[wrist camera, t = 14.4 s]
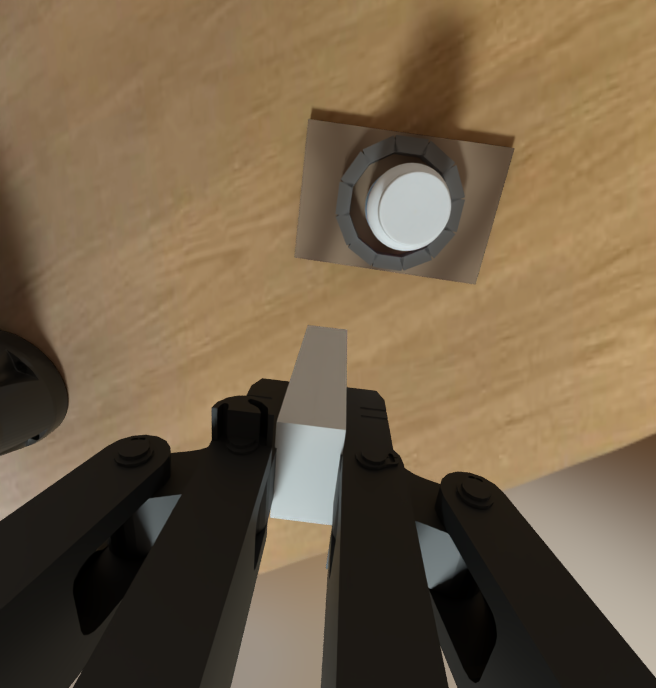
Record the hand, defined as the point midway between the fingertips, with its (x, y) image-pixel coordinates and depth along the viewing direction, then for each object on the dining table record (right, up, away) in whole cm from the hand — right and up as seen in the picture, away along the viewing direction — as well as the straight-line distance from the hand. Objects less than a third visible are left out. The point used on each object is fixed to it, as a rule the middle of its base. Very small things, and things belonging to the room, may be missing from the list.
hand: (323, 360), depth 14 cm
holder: (+7, +14, +21) cm, 26 cm away
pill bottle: (+7, +13, +20) cm, 25 cm away
